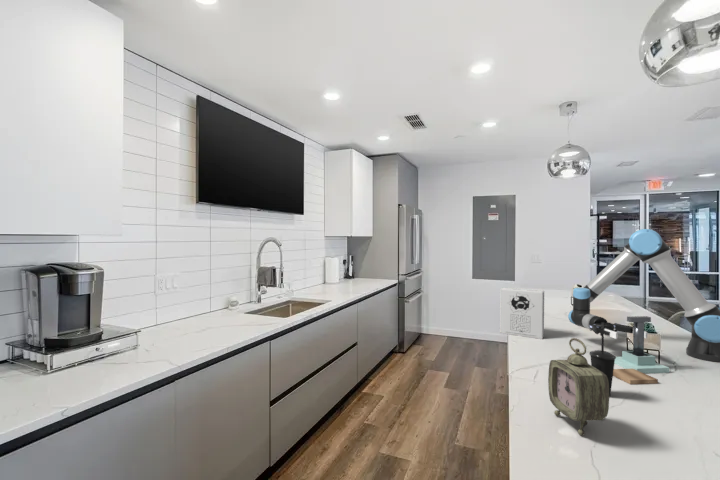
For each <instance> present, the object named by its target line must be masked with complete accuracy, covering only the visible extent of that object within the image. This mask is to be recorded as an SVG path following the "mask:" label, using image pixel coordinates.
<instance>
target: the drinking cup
mask: <svg viewBox="0 0 720 480" xmlns="http://www.w3.org/2000/svg"><path fill="white" fill-rule="evenodd" d="M604 336H605V335H604ZM604 336H601V347H600V350H599V349H598V350H592V351H590V352H589V355H590V365H591V366H593V367H595V368H596V369H598V370H600V371H601V372H603V373H604V374H605V375H606V376H607V378H608V382H609V397H610V396H611V395H612V394H611V392H612V386H613V378H614V376H613V370H614V369H615V364H614V362H615V359H616V357H617V356H616V355H615V354H613V353H611V352H609V351H606V350H604V348H605V347H604V346H605V343H604V342H605V337H604Z"/></svg>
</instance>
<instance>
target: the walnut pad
mask: <svg viewBox="0 0 720 480" xmlns="http://www.w3.org/2000/svg"><path fill="white" fill-rule="evenodd" d="M613 378H617V379H618V380H621V381H623V382H624V383H627V384H629V385H649V384H655V385H656V384H659V383H658V382H659V380H658V378H656V377H653V376H651V375H648V374H647V373H642V372H640V371H637V370H635V369H626V368H614V370H613Z"/></svg>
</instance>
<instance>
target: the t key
mask: <svg viewBox="0 0 720 480" xmlns="http://www.w3.org/2000/svg"><path fill="white" fill-rule="evenodd" d="M626 322H628V323H633V325H632V327H633V333H632V335H633V336H632V337H633V339H632V340H633V341H632V351H633V353H630V354H633V355H636V356H646V355H644V353H645V338H644V331H645V323H652V317H651V316H646V315H645V316H644V315H643V316H641V315H640V316H639V315H637V316H626Z"/></svg>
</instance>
